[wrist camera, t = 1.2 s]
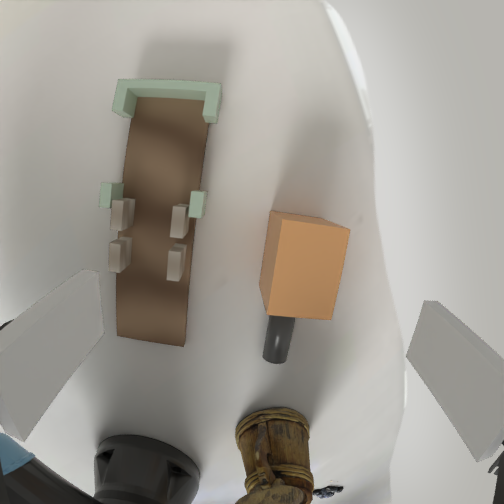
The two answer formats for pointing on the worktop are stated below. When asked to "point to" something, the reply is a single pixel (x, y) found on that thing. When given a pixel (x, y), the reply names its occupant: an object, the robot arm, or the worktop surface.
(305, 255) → the plug
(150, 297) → the board
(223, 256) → the worktop surface
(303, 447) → the wooden mug
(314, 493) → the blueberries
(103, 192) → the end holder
